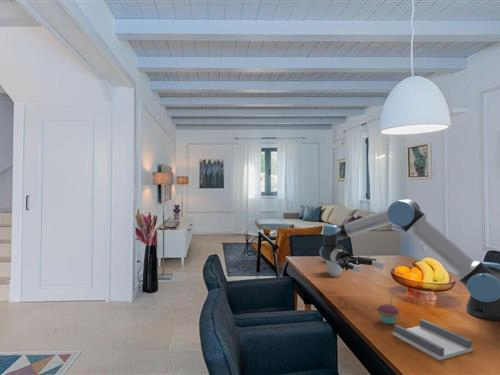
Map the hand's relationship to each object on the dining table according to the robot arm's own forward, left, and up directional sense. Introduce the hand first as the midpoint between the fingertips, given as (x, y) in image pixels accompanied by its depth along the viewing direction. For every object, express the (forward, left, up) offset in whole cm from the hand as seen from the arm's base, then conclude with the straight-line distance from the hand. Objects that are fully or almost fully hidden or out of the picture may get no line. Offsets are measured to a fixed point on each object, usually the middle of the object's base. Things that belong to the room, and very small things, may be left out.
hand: (371, 267), depth 148 cm
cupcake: (-6, +8, -21) cm, 23 cm away
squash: (+12, -94, -21) cm, 97 cm away
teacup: (+15, -62, -21) cm, 67 cm away
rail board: (-18, +24, -21) cm, 36 cm away
